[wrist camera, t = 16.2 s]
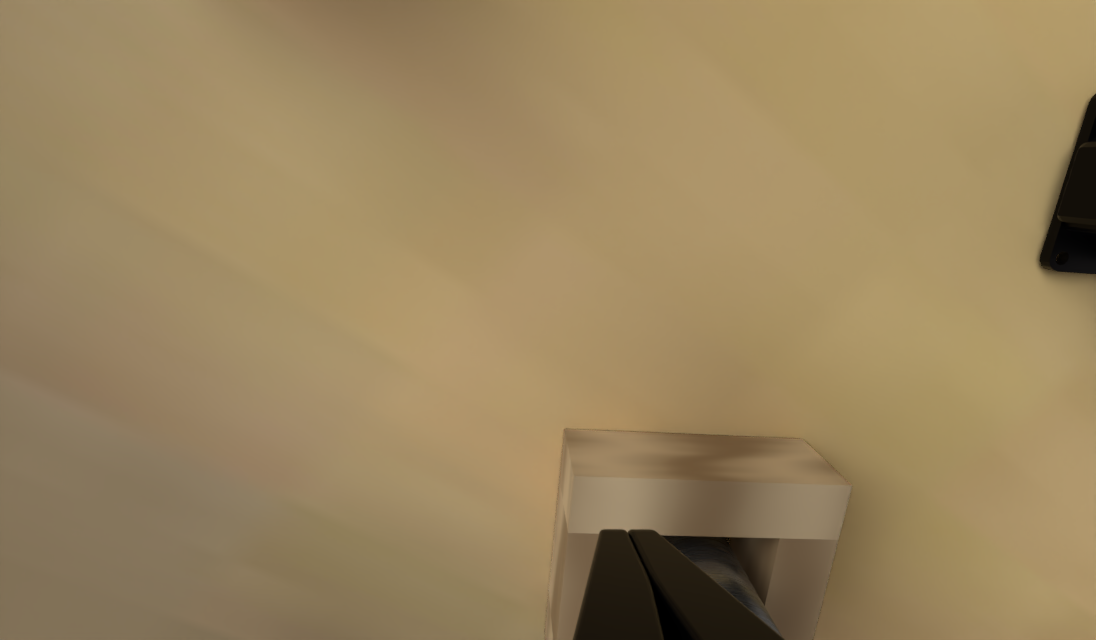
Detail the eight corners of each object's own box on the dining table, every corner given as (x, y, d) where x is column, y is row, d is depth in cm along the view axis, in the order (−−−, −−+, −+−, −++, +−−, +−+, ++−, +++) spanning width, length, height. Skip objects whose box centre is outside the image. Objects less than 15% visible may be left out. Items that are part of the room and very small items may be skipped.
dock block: (802, 438, 23) (852, 485, 20) (759, 634, 26) (796, 704, 23) (563, 428, 22) (574, 475, 19) (544, 631, 25) (550, 704, 22)
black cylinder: (724, 498, 24) (827, 659, 16) (706, 577, 25) (794, 763, 17) (632, 492, 23) (694, 653, 16) (618, 572, 24) (668, 760, 17)
